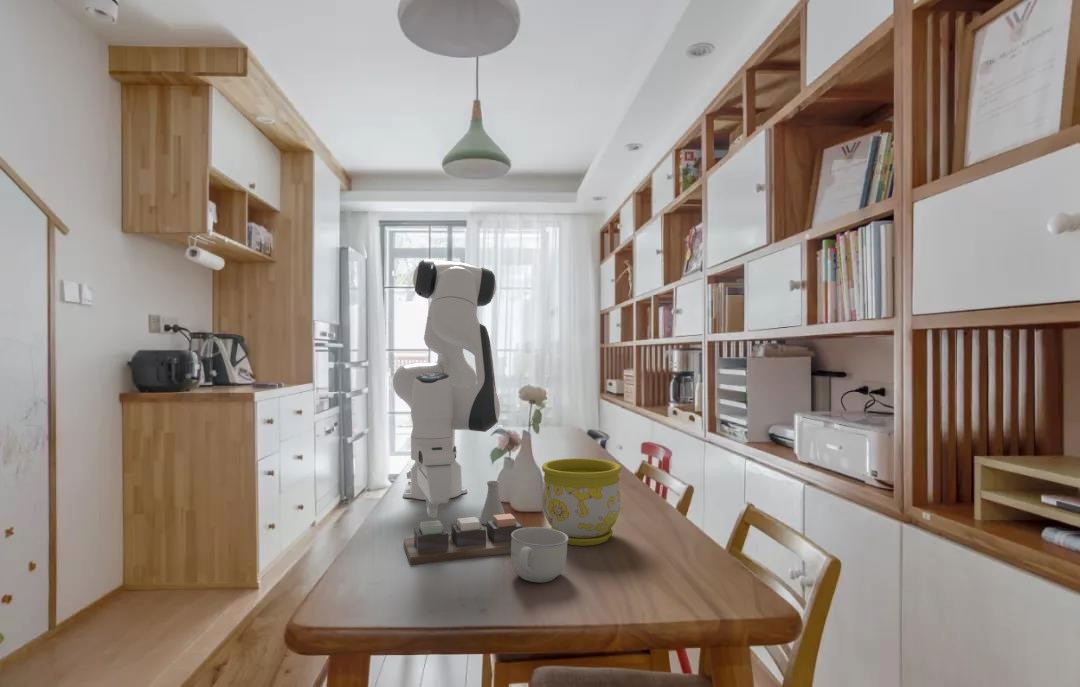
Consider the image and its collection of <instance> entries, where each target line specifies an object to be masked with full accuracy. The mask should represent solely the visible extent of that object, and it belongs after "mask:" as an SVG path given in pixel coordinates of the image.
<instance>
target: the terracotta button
mask: <svg viewBox="0 0 1080 687" xmlns="http://www.w3.org/2000/svg"><path fill="white" fill-rule="evenodd" d="M516 521H517V520H516V517H515V516H514V515H513V514H512V513H505V514H500V515H493V524H494V525H495V526H496V527H507V526H516Z"/></svg>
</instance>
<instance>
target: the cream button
mask: <svg viewBox="0 0 1080 687" xmlns="http://www.w3.org/2000/svg"><path fill="white" fill-rule="evenodd" d="M456 524H457V528H458V529H459V530H460V531H468V530H478V529H480V522H479V519H478V518H477V517H476V516H470V517H461V518H457V523H456Z"/></svg>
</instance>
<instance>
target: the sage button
mask: <svg viewBox="0 0 1080 687" xmlns="http://www.w3.org/2000/svg"><path fill="white" fill-rule="evenodd" d="M442 525H443V524H442V523H441V521H440V520H428V521H420V522H419V526H420V527H419V528H420V532H421V534H422V535H429V534H438V533H442Z"/></svg>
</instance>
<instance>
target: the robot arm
mask: <svg viewBox="0 0 1080 687" xmlns="http://www.w3.org/2000/svg"><path fill="white" fill-rule="evenodd" d="M412 284H413V287H414V291H415V293H416V294H417V295H418V296H420V297H422V298H424V299H426V300H428V299H430V303H429V307H428V312H427V317H426V318H427V319H426V323H425V330H424V337H423V340H424V343H425V345H426V347H427V348H428V349H429V350H430V351H432V352H434V353H435V354H437V361H436V362H414V363H409V364H408V363H407V364H404V365H401V366H399V367H398V368H397V369H396V371H395V373H394V375H393V376H392V377H393V378H392V387H393V389H394V392H395V394H396V396H398V398H400V399H401V400H402V401H404V402H405V403H406V404H407V405H408V407H409V408H410V417H411V421H412V431H411V434H410V459H411V460H412V461H415V462H414V463H413V465H412V466H411V468H410V470H408V471H406V480H408V481H407V483H406V485H405V487H404V491H403V493H402V497H403V498H406V499H408V498H409V499H415V500H422V501H425V503H426V513H427V514H426V515H427V516H428V517H429V518H430V519H431V518H437V517H438V514H439V512H438V509H439V505H443V504H448V503H449V501H450V499H452V498H456V497H459V496H460V495H463V494H466V493H468V488H466V487H464V486H463V479H462V478H463V477H462V465H461V464H460V463H459V462H458V461H457V460H456V459H457V446H456V444H455V443H456V442H455V441H456V440H455V439H456V438H455V435H456V432H455V431H456V430H458V431H459V430H462V431H472V432H473V431H475V432H484V433H486V432H487V431H489V430H490V429H492V428H493V427H494V426H495V425H496V424H497V423H498V422H499V418H500V414H501V407H500V400H499V397H498V392H497V389H496V381H495V372H494V361H493V355H492V354H493V353H492V346H491V340H490V336H489V331H488V329H487V326H486V325H484V324H482V323H480V321H479V319H478V314H477V313H478V312H477V311H478V307H484V306H487V305H489V304H490V303H491V302H492V300H493V299H494V297H495V294H496V291H497V281H496V276H495V274H494V272H493V271H492V270H490V269H488V268H485V267H478V266H475V265H472V264H468V263H464V262H455V261H446V260H445V261H444V260H435V259H434V258H432V259H431V258H429V259H427V258H426V259H422V260H421V261H419V263H418V264H417V266H416V267H415V270H414V272H413V275H412ZM464 350H465V351H467V352H469V353H471V354H472V355H473V356H474V362H475V363H474V364H475V370H474V368H473V367H472V366H471V365H470V364H469V363H468V361H467V360H466V358H465V354H464Z"/></svg>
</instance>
